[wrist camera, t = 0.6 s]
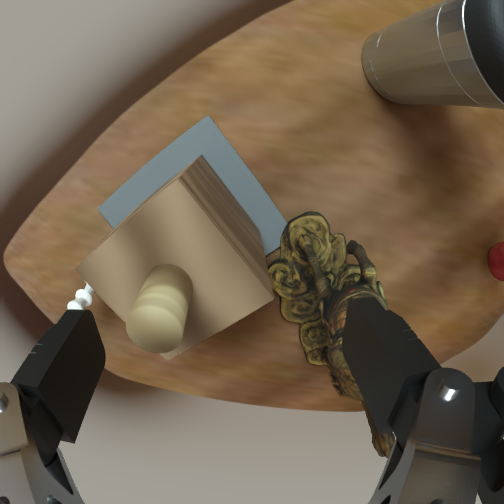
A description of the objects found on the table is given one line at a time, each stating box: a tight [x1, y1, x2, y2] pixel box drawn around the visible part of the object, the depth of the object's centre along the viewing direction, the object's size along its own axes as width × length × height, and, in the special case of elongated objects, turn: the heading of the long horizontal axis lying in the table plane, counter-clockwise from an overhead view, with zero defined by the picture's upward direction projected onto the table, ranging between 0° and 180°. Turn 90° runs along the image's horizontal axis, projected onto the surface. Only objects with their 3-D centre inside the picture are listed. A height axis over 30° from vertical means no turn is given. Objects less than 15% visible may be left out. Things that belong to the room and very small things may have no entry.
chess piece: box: [68, 281, 95, 310], centre depth 30 cm, size 5×5×10 cm
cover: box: [75, 155, 274, 361], centre depth 24 cm, size 10×10×19 cm
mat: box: [98, 115, 288, 256], centre depth 33 cm, size 16×16×1 cm
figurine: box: [268, 212, 395, 458], centre depth 29 cm, size 13×25×20 cm, turn 15°
